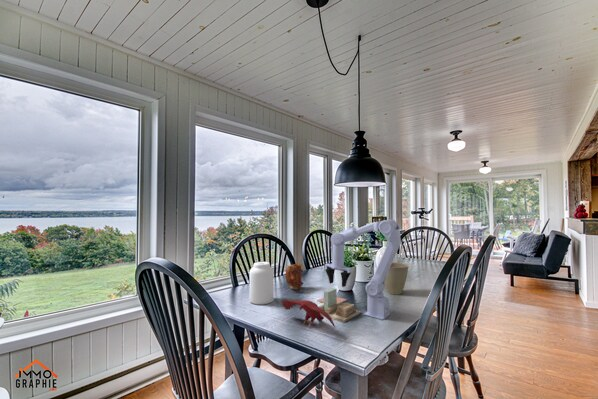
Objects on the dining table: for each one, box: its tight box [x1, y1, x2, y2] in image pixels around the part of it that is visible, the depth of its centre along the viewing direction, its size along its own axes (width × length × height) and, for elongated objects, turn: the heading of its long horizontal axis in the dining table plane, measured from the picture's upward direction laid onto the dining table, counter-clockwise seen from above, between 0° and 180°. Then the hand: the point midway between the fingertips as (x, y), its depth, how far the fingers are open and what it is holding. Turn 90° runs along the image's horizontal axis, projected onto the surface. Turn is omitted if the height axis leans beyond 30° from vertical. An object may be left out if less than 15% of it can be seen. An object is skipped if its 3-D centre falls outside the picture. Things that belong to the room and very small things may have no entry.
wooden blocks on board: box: [318, 303, 361, 323], centre depth 136 cm, size 16×14×3 cm
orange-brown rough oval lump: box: [285, 263, 304, 290], centre depth 175 cm, size 15×8×15 cm, turn 149°
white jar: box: [249, 261, 275, 305], centre depth 154 cm, size 12×12×20 cm
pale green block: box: [323, 287, 338, 311], centre depth 139 cm, size 2×7×9 cm, turn 139°
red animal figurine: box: [282, 299, 336, 328], centre depth 123 cm, size 28×9×15 cm
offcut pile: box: [336, 302, 357, 318], centre depth 133 cm, size 5×9×3 cm, turn 139°
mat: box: [316, 296, 348, 304], centre depth 154 cm, size 11×11×1 cm
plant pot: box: [385, 262, 409, 296], centre depth 168 cm, size 15×15×16 cm
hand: (337, 284), depth 145 cm, fingers open, 7 cm apart
